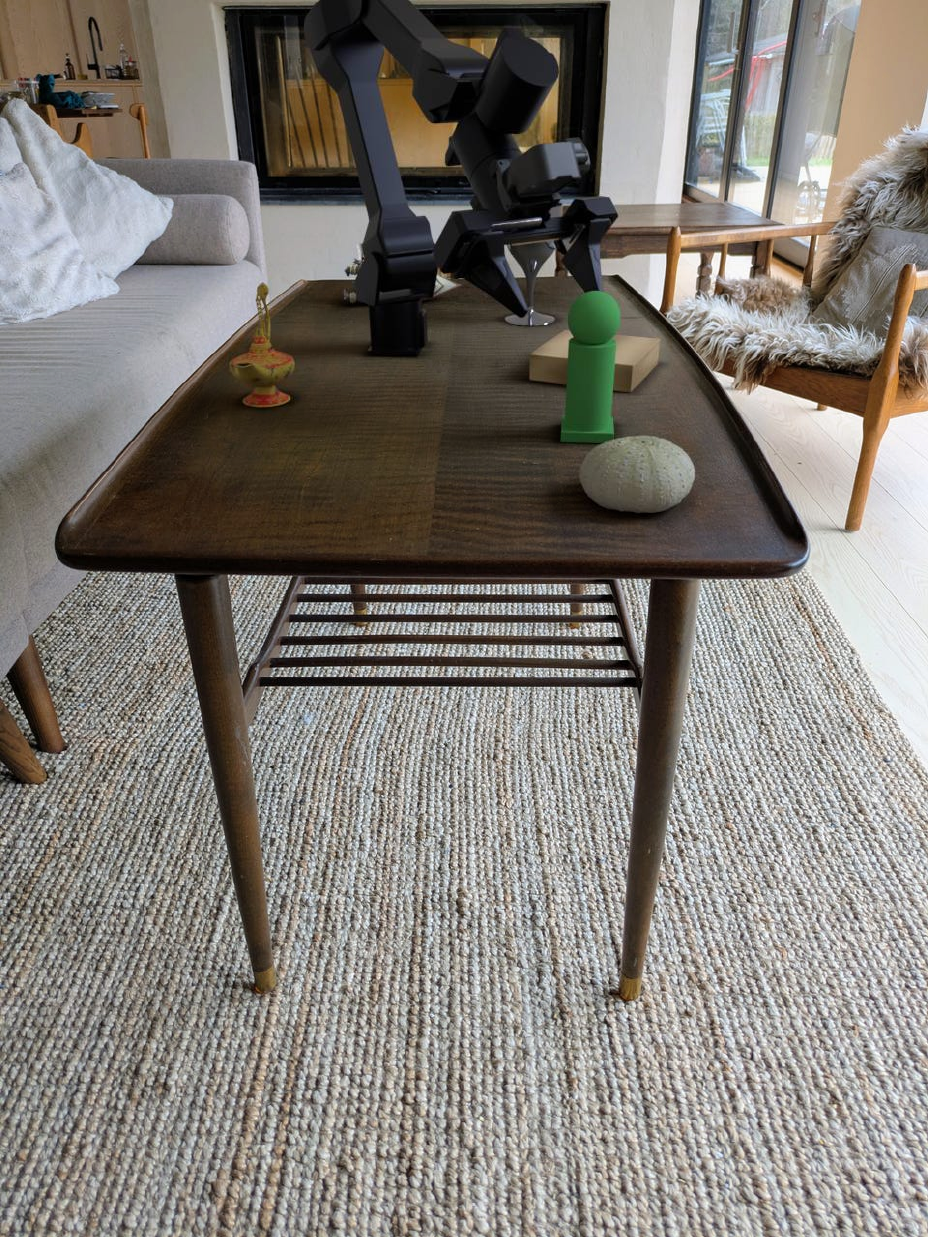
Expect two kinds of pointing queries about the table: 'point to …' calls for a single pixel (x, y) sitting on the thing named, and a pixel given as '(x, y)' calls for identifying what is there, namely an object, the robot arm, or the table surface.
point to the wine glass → (533, 273)
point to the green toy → (590, 369)
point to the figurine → (440, 288)
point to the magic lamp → (263, 364)
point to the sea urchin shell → (637, 474)
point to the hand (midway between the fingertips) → (563, 308)
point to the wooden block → (630, 360)
